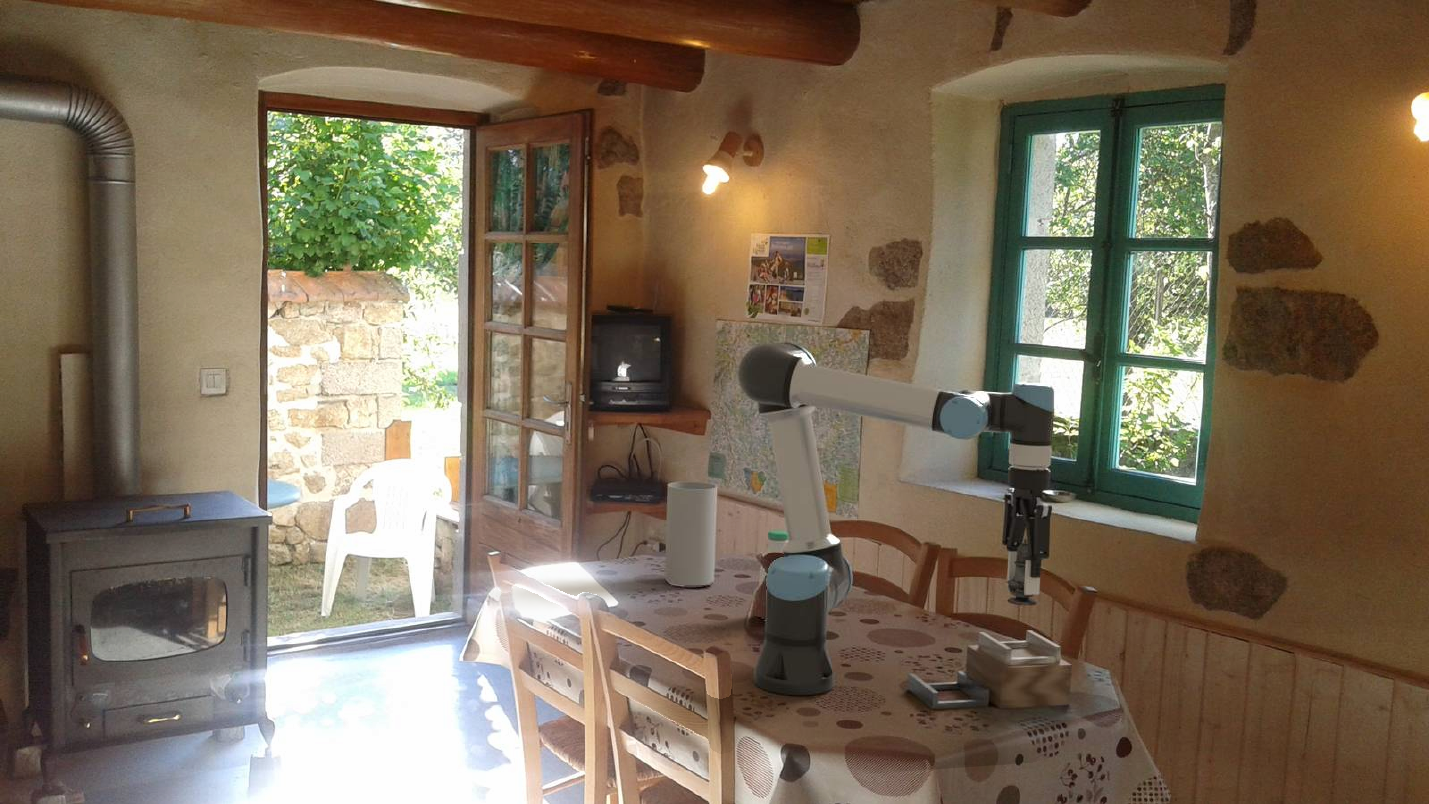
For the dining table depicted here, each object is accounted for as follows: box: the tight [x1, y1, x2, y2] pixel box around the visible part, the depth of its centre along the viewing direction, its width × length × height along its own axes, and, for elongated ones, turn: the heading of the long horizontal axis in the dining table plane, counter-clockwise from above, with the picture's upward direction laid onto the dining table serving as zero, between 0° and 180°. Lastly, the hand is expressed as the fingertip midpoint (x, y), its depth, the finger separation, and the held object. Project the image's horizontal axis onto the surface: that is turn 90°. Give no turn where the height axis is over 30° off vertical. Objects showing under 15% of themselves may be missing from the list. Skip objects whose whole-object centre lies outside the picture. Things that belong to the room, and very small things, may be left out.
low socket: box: [907, 670, 990, 710], centre depth 221 cm, size 11×11×3 cm
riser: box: [965, 629, 1073, 709], centre depth 224 cm, size 14×14×10 cm
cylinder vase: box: [664, 481, 718, 585], centre depth 302 cm, size 12×12×25 cm
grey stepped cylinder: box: [1006, 538, 1038, 607], centre depth 222 cm, size 6×6×12 cm
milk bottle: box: [758, 529, 789, 587], centre depth 271 cm, size 8×8×20 cm
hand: (1022, 589), depth 222 cm, fingers closed on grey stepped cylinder, 6 cm apart
